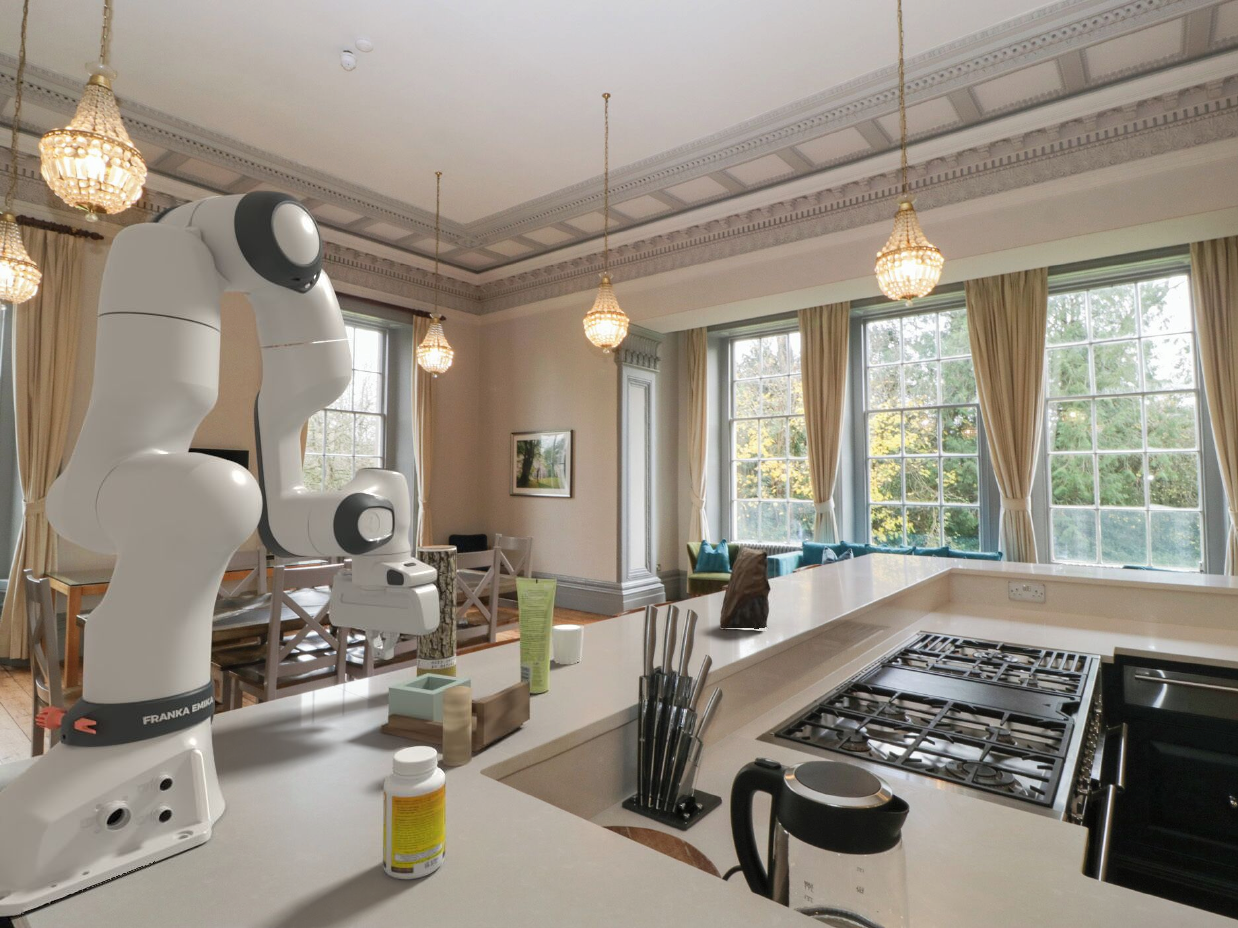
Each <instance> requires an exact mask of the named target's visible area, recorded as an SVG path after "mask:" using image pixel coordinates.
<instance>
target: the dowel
mask: <svg viewBox="0 0 1238 928" xmlns="http://www.w3.org/2000/svg"><path fill="white" fill-rule="evenodd" d="M472 690H473V689H472V687H471V688H470V687H466V686H455V687H450V688H446V689H444V690H443V745H442V764H443V765H445V766H447V767H460V766H464V765H467V764H469V763H470V762H471V761H472V751H471V708H472V700H473V699H472V698H473V697H472V695H473V694H472V692H473V691H472Z"/></svg>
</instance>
